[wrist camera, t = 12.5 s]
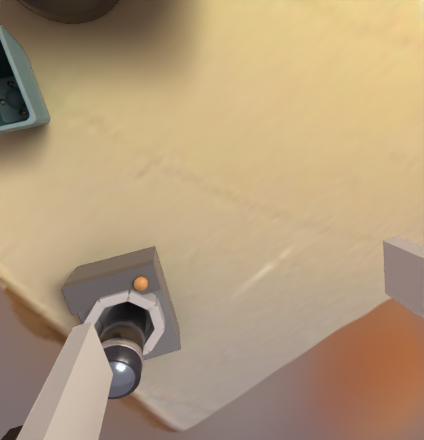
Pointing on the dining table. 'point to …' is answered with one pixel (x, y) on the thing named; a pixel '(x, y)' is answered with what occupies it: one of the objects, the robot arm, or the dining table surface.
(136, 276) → the camera body
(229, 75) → the dining table surface
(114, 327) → the lens
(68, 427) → the robot arm
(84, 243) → the dining table surface
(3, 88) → the flower pot
